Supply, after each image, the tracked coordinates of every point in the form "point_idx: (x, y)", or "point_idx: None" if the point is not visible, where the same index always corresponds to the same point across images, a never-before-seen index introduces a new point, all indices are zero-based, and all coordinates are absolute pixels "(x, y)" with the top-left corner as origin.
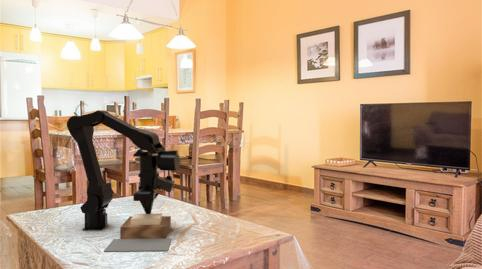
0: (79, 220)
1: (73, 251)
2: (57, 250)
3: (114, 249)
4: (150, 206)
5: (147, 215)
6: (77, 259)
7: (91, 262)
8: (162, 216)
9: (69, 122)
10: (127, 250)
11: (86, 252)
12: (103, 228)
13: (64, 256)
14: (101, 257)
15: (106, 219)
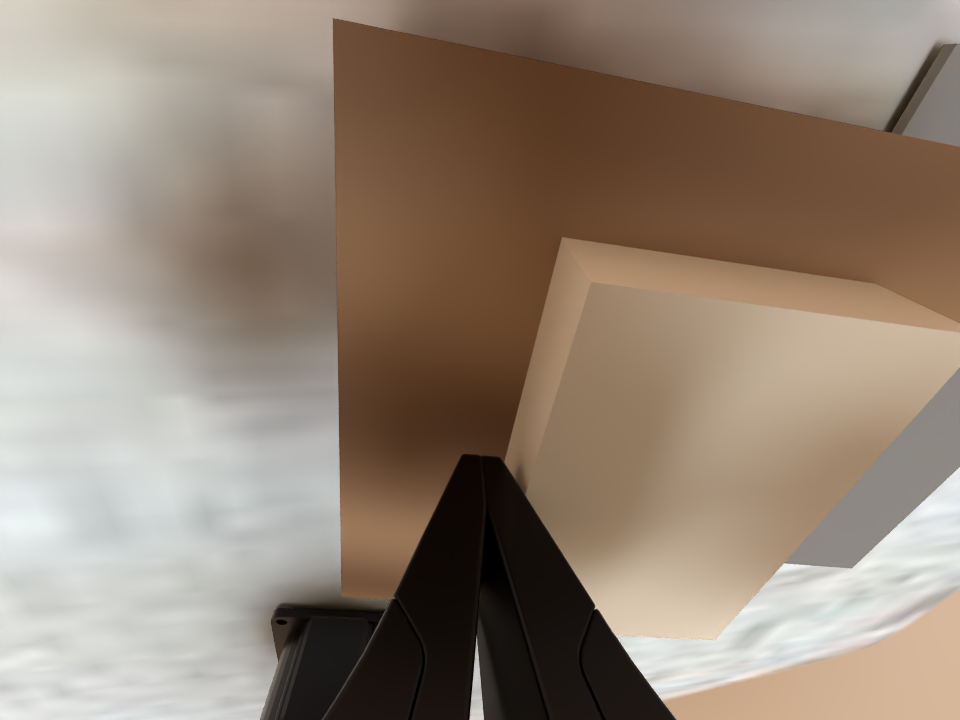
0: (193, 702)
1: (727, 647)
2: (678, 684)
3: (871, 529)
4: (603, 640)
5: (640, 515)
6: (854, 622)
7: (948, 579)
8: (357, 232)
9: None
10: (956, 465)
11: (778, 612)
12: (376, 614)
13: (775, 658)
14: (912, 556)
15: (323, 669)
